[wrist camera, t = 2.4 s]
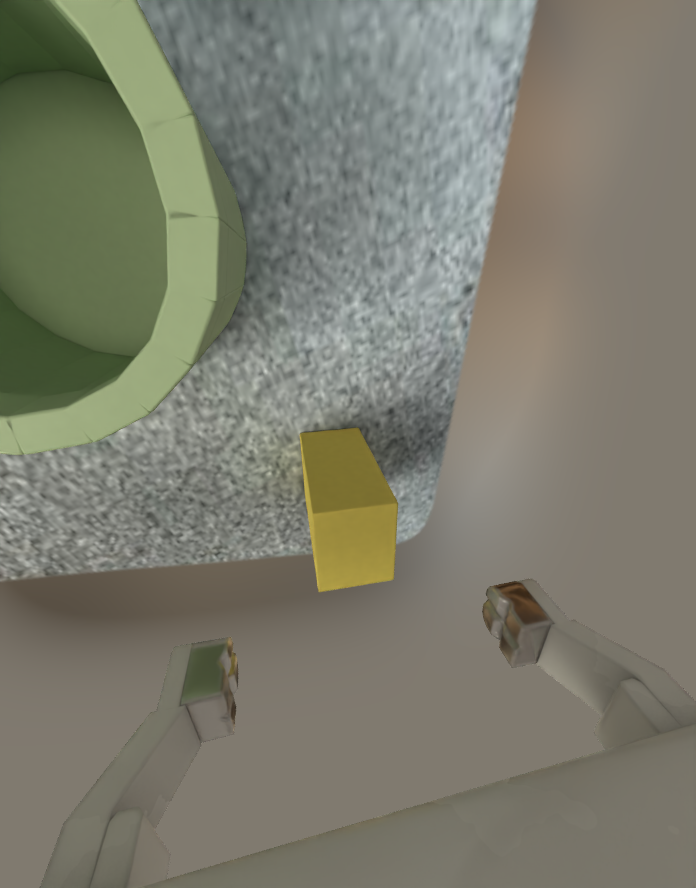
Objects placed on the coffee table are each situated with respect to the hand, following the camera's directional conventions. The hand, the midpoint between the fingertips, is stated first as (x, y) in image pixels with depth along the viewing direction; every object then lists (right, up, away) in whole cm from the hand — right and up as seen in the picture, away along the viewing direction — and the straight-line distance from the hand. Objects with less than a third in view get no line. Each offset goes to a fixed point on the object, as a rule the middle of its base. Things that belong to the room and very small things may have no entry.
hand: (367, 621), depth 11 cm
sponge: (-2, +5, +9) cm, 10 cm away
